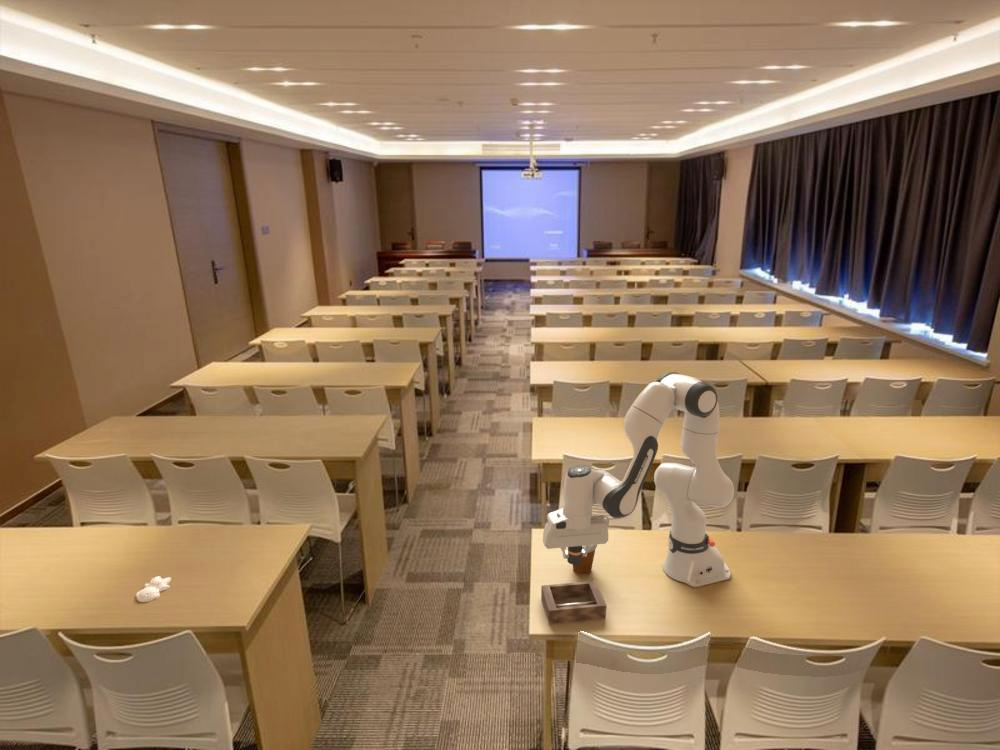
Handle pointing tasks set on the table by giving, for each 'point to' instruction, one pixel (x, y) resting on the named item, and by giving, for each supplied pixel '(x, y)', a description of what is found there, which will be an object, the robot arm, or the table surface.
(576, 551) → the orange-banded dark cylinder
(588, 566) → the disposable coffee cup
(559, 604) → the metal rod
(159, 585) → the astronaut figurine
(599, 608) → the brown wooden frame
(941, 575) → the table surface
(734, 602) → the table surface
